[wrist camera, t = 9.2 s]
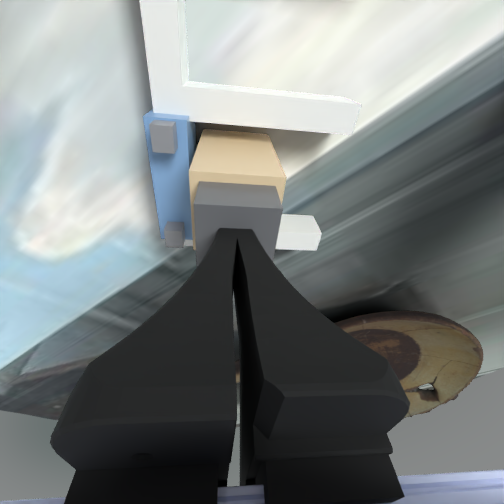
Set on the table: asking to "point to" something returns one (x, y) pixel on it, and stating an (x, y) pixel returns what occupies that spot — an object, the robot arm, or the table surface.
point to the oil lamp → (419, 353)
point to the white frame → (220, 112)
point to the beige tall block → (235, 188)
